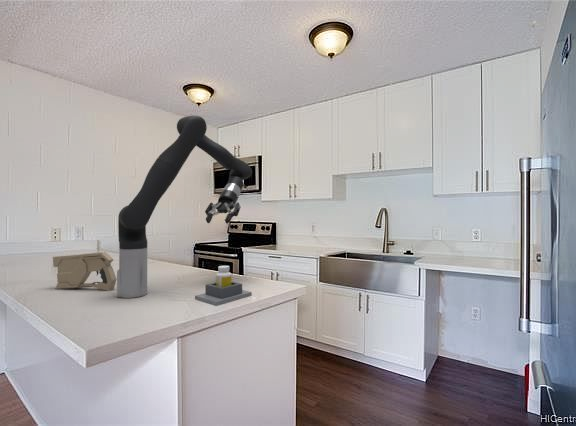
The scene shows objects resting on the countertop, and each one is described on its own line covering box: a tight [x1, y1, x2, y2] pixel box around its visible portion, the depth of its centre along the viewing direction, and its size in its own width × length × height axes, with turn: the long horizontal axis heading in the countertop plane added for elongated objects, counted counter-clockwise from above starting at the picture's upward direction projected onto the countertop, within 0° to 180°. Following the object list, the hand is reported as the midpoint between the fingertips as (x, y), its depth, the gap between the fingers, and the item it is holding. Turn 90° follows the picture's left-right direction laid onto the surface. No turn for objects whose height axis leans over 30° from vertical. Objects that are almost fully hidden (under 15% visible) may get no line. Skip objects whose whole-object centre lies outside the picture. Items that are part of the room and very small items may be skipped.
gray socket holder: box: [194, 280, 253, 306], centre depth 108 cm, size 16×12×5 cm
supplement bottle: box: [215, 265, 232, 287], centre depth 108 cm, size 5×5×10 cm
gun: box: [52, 251, 117, 292], centre depth 119 cm, size 24×3×15 cm, turn 84°
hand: (216, 222), depth 122 cm, fingers open, 8 cm apart
